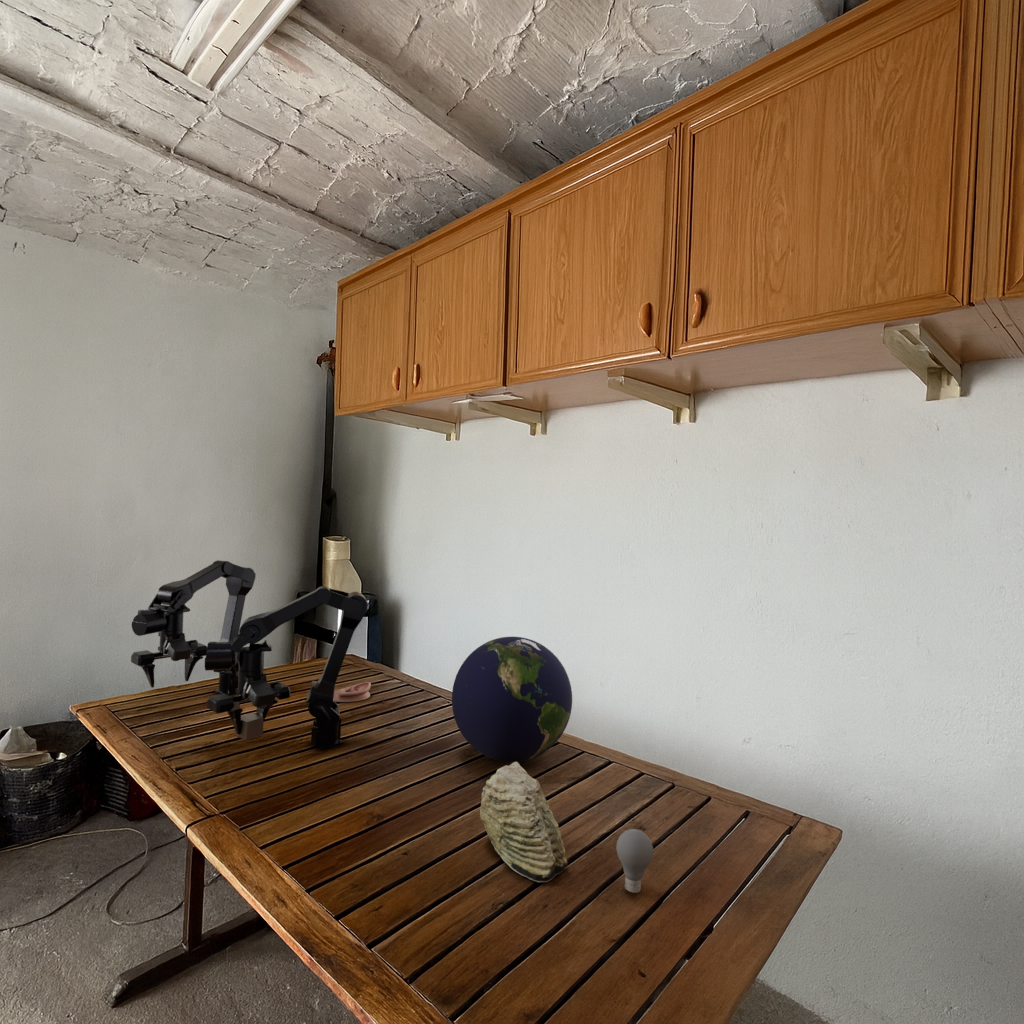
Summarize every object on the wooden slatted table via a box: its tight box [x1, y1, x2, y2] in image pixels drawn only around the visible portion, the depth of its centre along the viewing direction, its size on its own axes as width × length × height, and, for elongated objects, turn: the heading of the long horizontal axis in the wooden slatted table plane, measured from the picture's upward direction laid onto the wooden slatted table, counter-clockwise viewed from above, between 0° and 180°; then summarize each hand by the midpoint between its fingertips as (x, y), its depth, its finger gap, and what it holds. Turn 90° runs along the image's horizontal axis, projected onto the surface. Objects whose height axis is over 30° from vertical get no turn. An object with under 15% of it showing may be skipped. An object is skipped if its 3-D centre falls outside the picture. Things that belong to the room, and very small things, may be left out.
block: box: [234, 712, 265, 741], centre depth 157 cm, size 5×5×4 cm
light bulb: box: [615, 828, 654, 894], centre depth 106 cm, size 6×6×10 cm
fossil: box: [479, 762, 569, 883], centre depth 114 cm, size 9×18×15 cm, turn 46°
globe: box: [451, 636, 573, 763], centre depth 158 cm, size 30×30×30 cm
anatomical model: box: [333, 681, 372, 703], centre depth 200 cm, size 13×4×12 cm
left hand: (169, 684), depth 180 cm, fingers open, 9 cm apart
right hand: (248, 731), depth 157 cm, fingers closed on block, 5 cm apart
